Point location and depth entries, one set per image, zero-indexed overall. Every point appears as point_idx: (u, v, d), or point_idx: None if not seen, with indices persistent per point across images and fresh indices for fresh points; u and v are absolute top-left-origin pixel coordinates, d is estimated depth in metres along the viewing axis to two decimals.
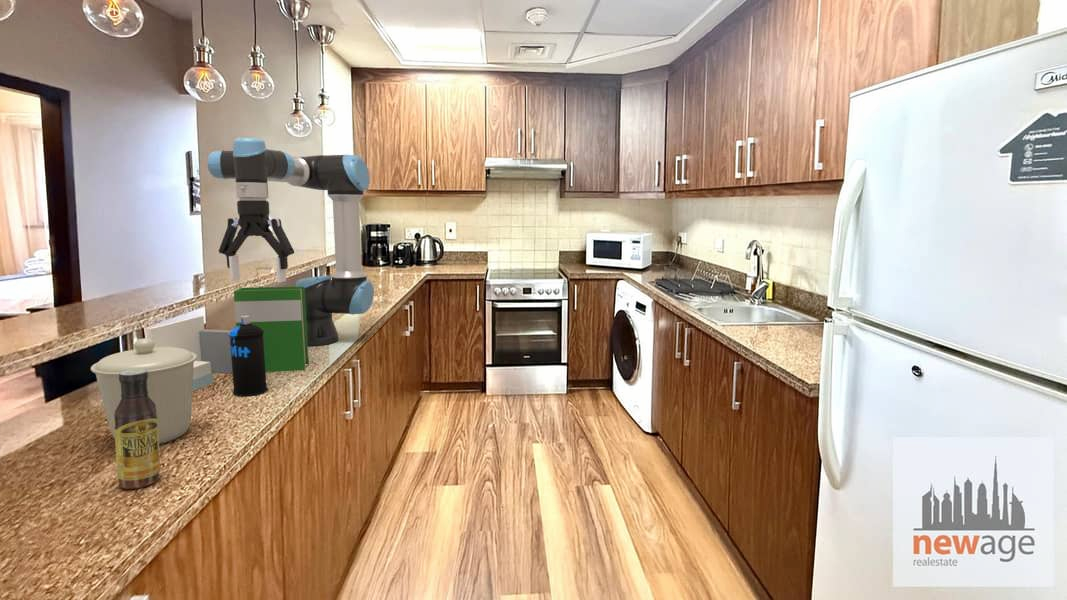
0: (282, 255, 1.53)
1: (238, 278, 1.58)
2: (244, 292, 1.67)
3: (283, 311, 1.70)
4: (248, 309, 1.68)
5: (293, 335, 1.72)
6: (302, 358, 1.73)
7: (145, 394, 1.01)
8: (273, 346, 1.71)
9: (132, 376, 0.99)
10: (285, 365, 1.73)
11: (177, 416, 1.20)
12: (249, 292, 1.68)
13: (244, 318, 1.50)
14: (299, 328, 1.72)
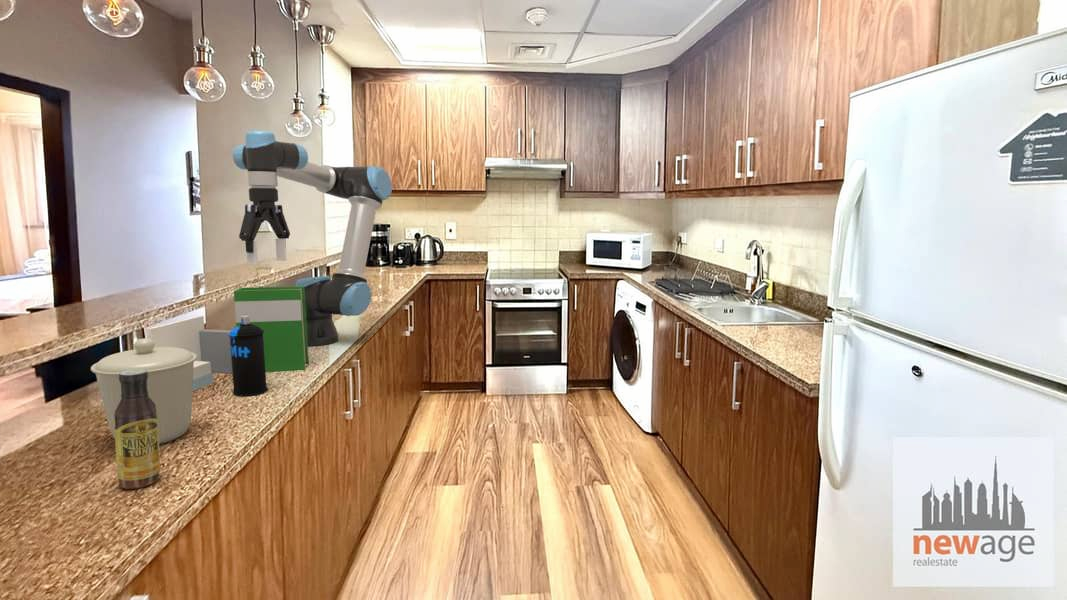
0: (243, 239, 1.62)
1: (283, 259, 1.77)
2: (244, 292, 1.67)
3: (283, 311, 1.70)
4: (248, 309, 1.68)
5: (293, 335, 1.72)
6: (302, 358, 1.73)
7: (145, 394, 1.01)
8: (273, 346, 1.71)
9: (132, 376, 0.99)
10: (285, 365, 1.73)
11: (177, 416, 1.20)
12: (249, 292, 1.68)
13: (244, 318, 1.50)
14: (299, 328, 1.72)
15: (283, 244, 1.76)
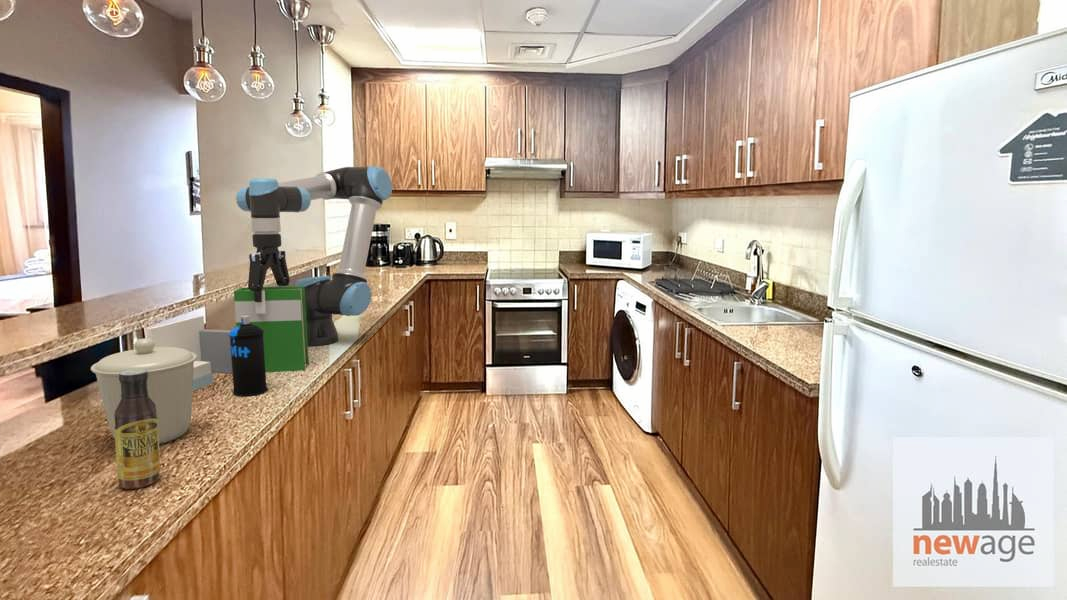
0: (252, 289, 1.66)
1: None
2: (244, 292, 1.67)
3: (283, 311, 1.70)
4: (248, 309, 1.68)
5: (293, 335, 1.72)
6: (302, 358, 1.73)
7: (145, 394, 1.01)
8: (273, 346, 1.71)
9: (132, 376, 0.99)
10: (285, 364, 1.73)
11: (177, 416, 1.20)
12: (249, 292, 1.68)
13: (244, 318, 1.50)
14: (299, 328, 1.72)
15: None
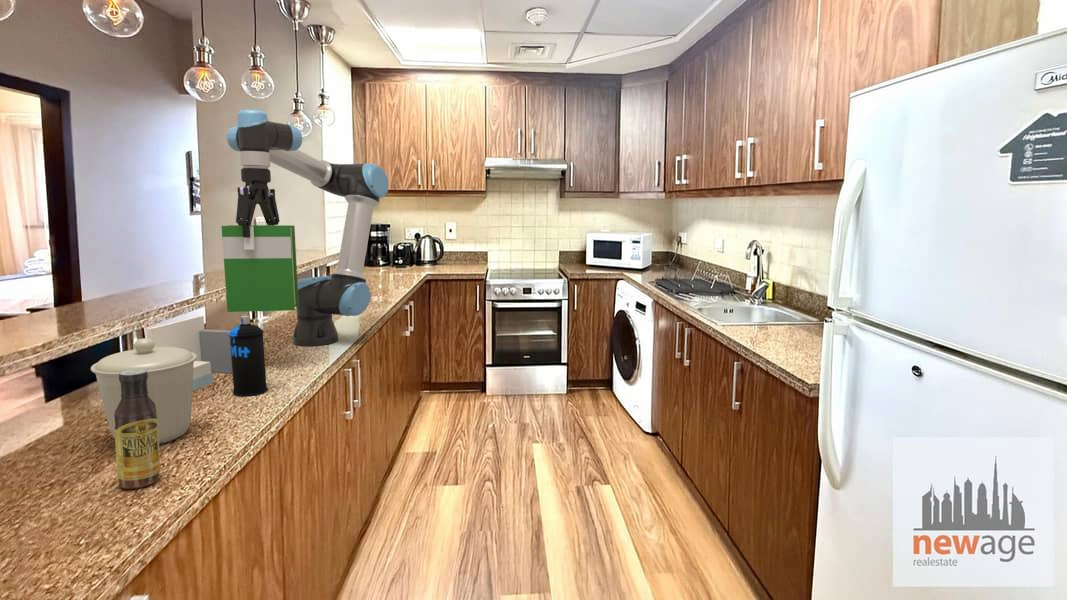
0: (240, 224, 1.62)
1: None
2: (232, 227, 1.63)
3: (272, 248, 1.66)
4: (236, 245, 1.64)
5: (282, 273, 1.68)
6: (292, 297, 1.69)
7: (145, 394, 1.01)
8: (262, 284, 1.67)
9: (132, 376, 0.99)
10: (274, 304, 1.68)
11: (177, 416, 1.20)
12: (237, 227, 1.63)
13: (244, 318, 1.50)
14: (288, 266, 1.68)
15: None
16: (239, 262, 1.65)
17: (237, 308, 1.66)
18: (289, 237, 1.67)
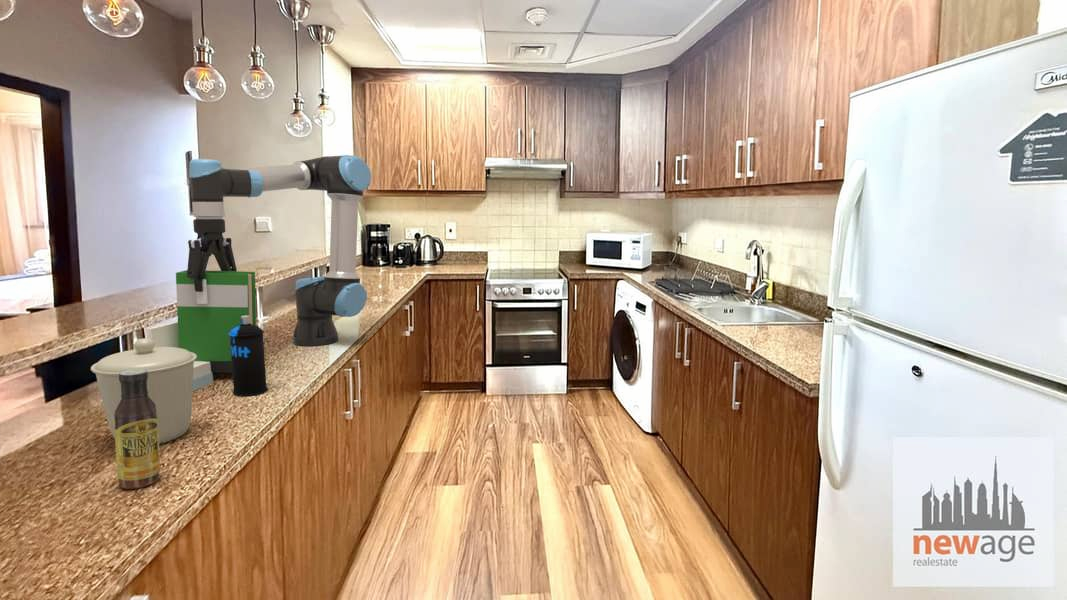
0: (192, 278, 1.56)
1: None
2: None
3: (228, 296, 1.59)
4: (191, 293, 1.58)
5: (238, 323, 1.61)
6: None
7: (145, 394, 1.01)
8: (216, 333, 1.60)
9: (132, 376, 0.99)
10: (229, 354, 1.62)
11: (177, 416, 1.20)
12: None
13: (244, 318, 1.50)
14: (245, 315, 1.61)
15: None
16: (192, 310, 1.58)
17: None
18: (246, 286, 1.60)
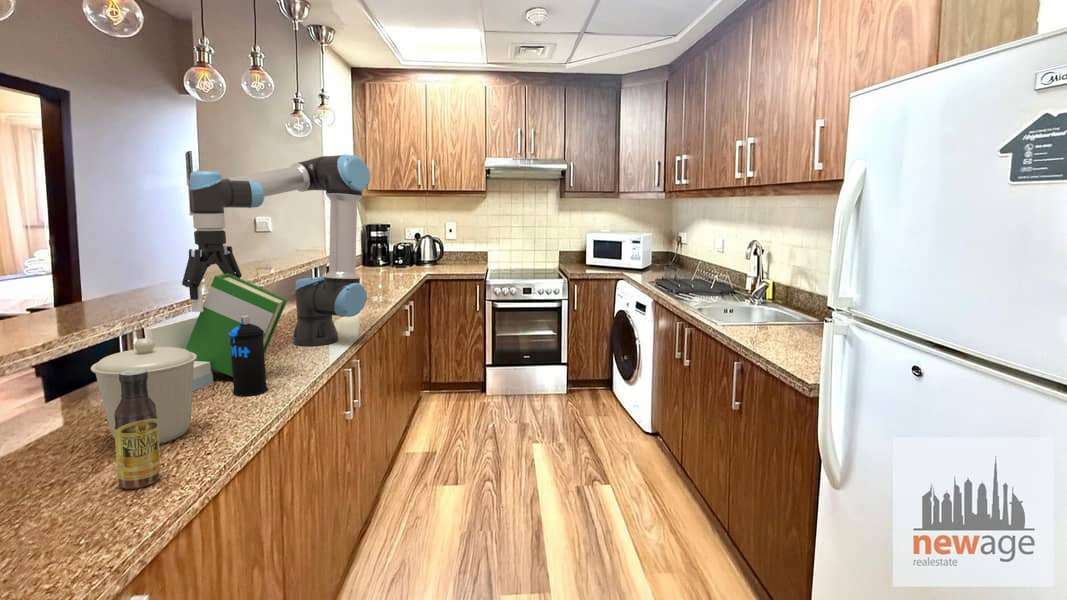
0: (187, 285, 1.54)
1: None
2: (224, 282, 1.58)
3: (252, 316, 1.59)
4: (220, 300, 1.58)
5: None
6: None
7: (145, 394, 1.01)
8: (226, 345, 1.60)
9: (132, 376, 0.99)
10: (229, 368, 1.61)
11: (177, 416, 1.20)
12: (228, 284, 1.58)
13: (244, 318, 1.50)
14: None
15: None
16: (215, 315, 1.59)
17: None
18: (272, 313, 1.60)
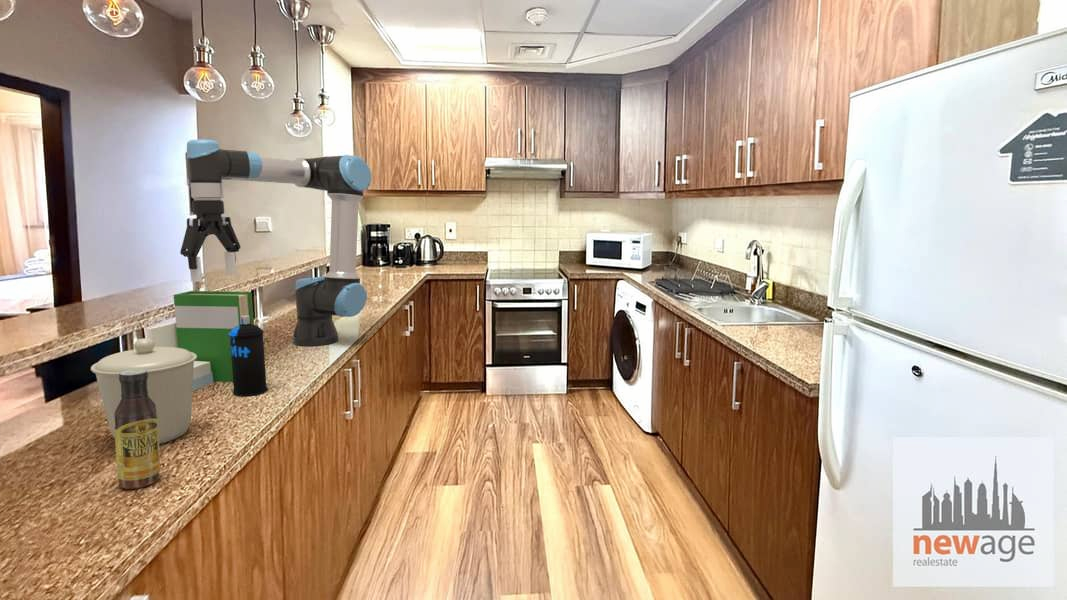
0: None
1: (233, 273, 1.68)
2: (183, 296, 1.59)
3: (221, 318, 1.59)
4: (187, 314, 1.60)
5: None
6: None
7: (145, 394, 1.01)
8: (212, 354, 1.61)
9: (132, 376, 0.99)
10: (224, 375, 1.62)
11: (177, 416, 1.20)
12: (188, 296, 1.59)
13: (244, 318, 1.50)
14: None
15: (232, 258, 1.67)
16: (190, 331, 1.61)
17: None
18: (236, 307, 1.59)
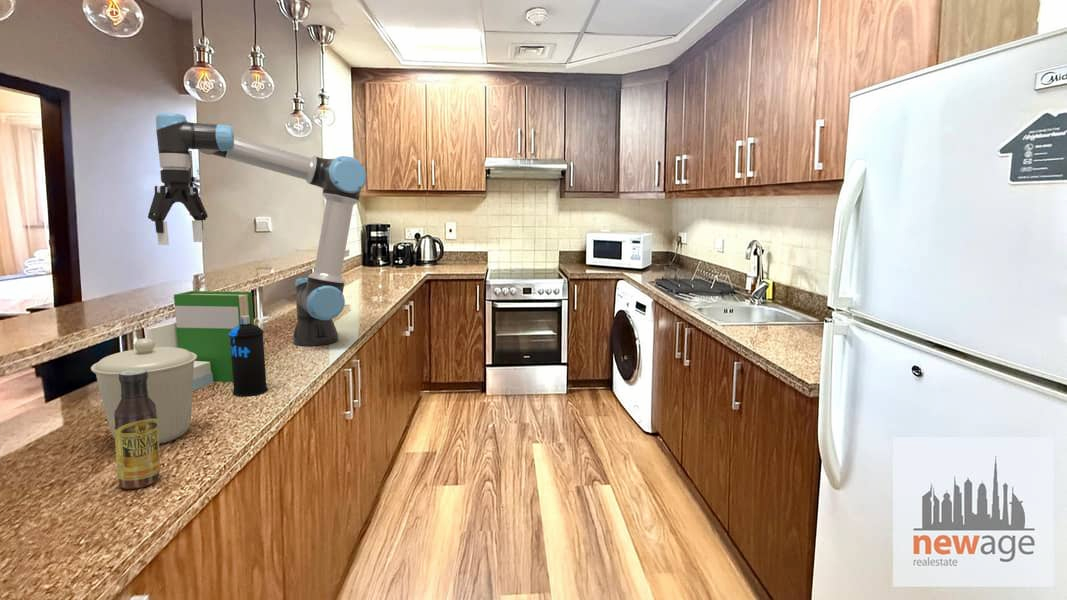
0: None
1: (199, 240, 1.80)
2: (183, 296, 1.59)
3: (221, 318, 1.59)
4: (188, 314, 1.60)
5: None
6: None
7: (145, 394, 1.01)
8: (212, 354, 1.61)
9: (132, 376, 0.99)
10: (224, 375, 1.62)
11: (177, 416, 1.20)
12: (188, 296, 1.59)
13: (244, 318, 1.50)
14: None
15: (199, 226, 1.79)
16: (190, 331, 1.61)
17: None
18: (237, 307, 1.59)
